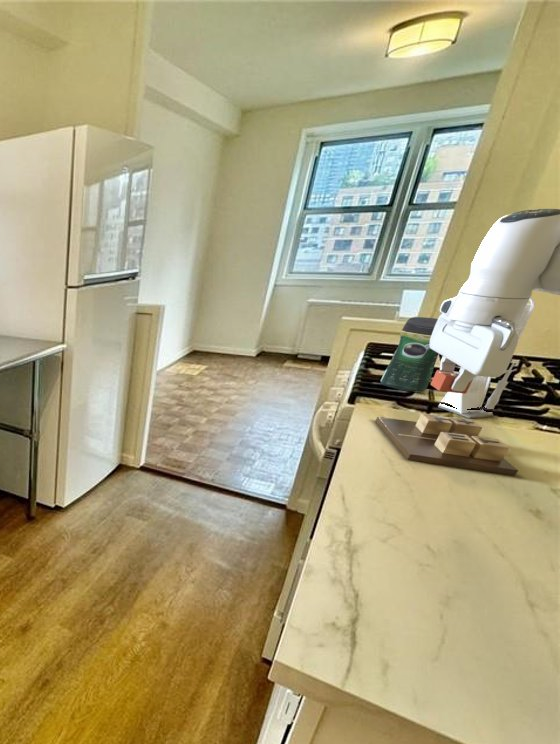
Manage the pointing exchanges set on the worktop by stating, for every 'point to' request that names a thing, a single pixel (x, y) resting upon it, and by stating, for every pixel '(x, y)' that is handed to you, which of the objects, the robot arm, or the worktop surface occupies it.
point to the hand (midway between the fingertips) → (449, 385)
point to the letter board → (434, 448)
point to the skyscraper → (483, 384)
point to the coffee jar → (412, 357)
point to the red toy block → (446, 381)
